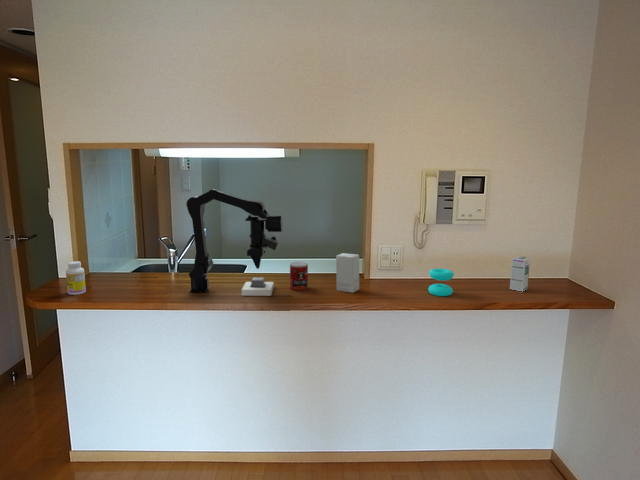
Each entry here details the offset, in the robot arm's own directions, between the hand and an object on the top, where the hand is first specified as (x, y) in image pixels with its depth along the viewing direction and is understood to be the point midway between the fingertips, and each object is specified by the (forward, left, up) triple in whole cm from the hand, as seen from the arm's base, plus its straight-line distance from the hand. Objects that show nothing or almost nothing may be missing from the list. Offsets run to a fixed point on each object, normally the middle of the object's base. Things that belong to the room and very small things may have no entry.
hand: (257, 268), depth 185 cm
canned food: (+17, +5, -10) cm, 20 cm away
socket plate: (0, 0, -10) cm, 10 cm away
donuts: (+77, -1, -10) cm, 78 cm away
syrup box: (+113, +5, -10) cm, 114 cm away
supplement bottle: (-74, -4, -10) cm, 75 cm away
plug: (0, 0, -9) cm, 9 cm away
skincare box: (+38, +3, -10) cm, 39 cm away
